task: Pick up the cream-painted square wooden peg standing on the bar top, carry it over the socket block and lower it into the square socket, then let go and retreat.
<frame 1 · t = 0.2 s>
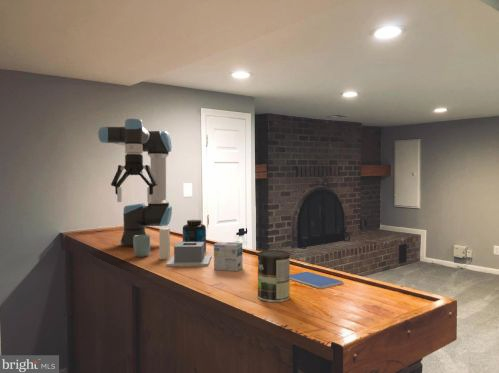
hand: (134, 202, 171), 27 cm above the table, fingers open, 13 cm apart
container: (194, 252, 199), on the table
socket block: (189, 261, 175), on the table
cup: (142, 256, 188), on the table
peg: (164, 258, 183), on the table
light bulb box: (228, 269, 161), on the table
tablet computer: (312, 282, 143), on the table
coffee can: (273, 298, 122), on the table
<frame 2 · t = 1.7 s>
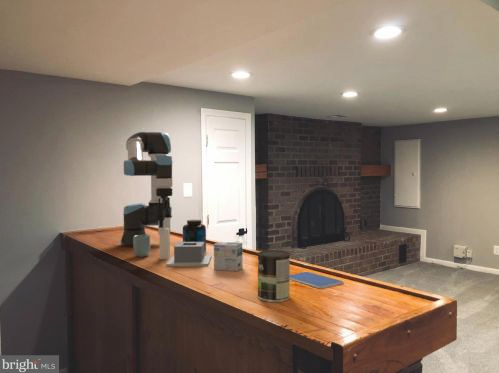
hand: (164, 232, 182), 12 cm above the table, fingers open, 13 cm apart
nothing on the table moved.
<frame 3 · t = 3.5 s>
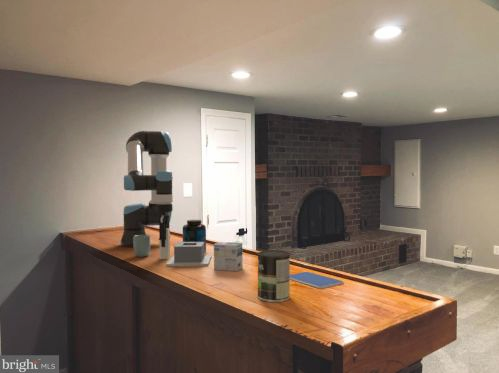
hand: (164, 252, 183), 3 cm above the table, fingers closed on peg, 4 cm apart
peg: (164, 258, 183), on the table, touching gripper
everything else where it was.
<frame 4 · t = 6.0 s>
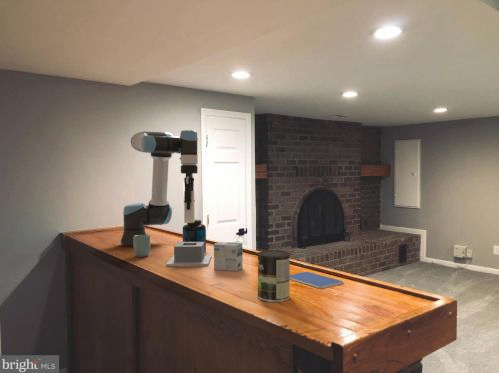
hand: (189, 216, 174), 21 cm above the table, fingers closed on peg, 4 cm apart
peg: (189, 222, 174), point 18 cm above the table, touching gripper
everything else where it was.
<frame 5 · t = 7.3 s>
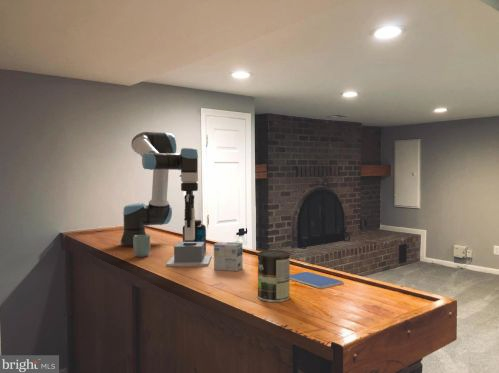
hand: (189, 233, 175), 13 cm above the table, fingers closed on peg, 4 cm apart
peg: (189, 239, 175), point 10 cm above the table, touching gripper
everything else where it was.
when the fingers open (10 cm above the table, at t = 8.5 s): peg drops 6 cm, resting on socket block.
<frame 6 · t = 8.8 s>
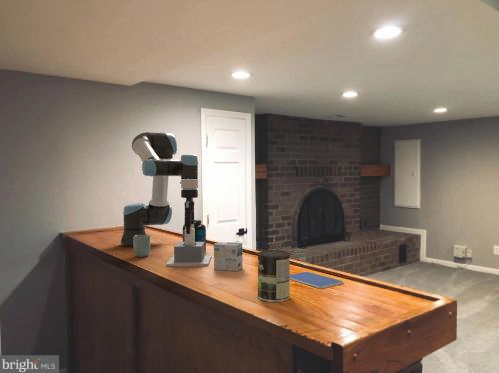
hand: (189, 239, 175), 10 cm above the table, fingers open, 7 cm apart
peg: (189, 259, 175), point 1 cm above the table, touching socket block
everything else where it was.
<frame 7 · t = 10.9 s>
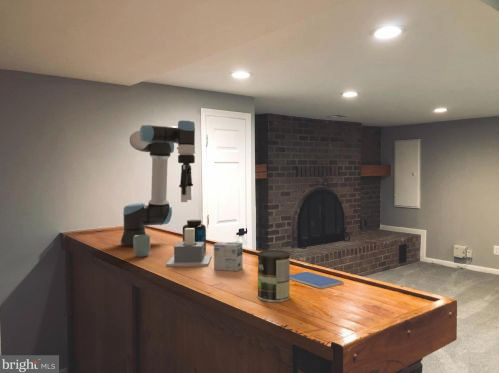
hand: (186, 201, 177), 27 cm above the table, fingers open, 13 cm apart
nothing on the table moved.
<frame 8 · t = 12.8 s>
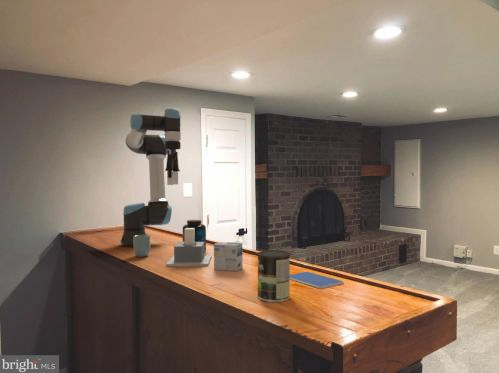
hand: (172, 184, 188), 35 cm above the table, fingers open, 13 cm apart
nothing on the table moved.
at the end: peg 0.0 cm off-centre on the socket block, point 1.0 cm above the socket block's base; peg tilted 0°; the gripper is holding nothing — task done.
